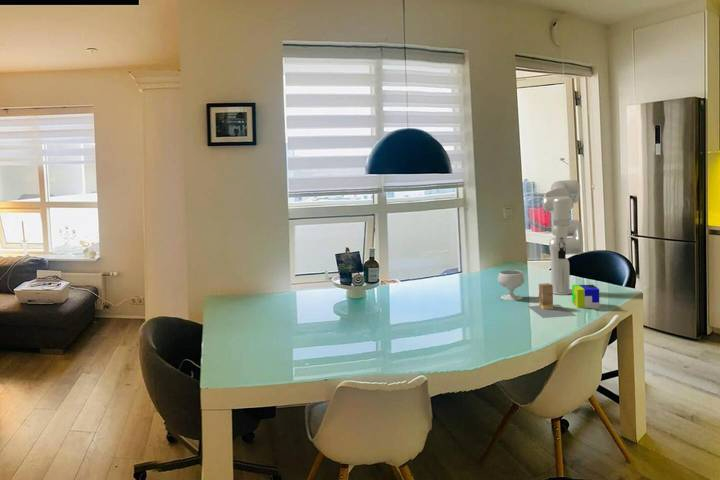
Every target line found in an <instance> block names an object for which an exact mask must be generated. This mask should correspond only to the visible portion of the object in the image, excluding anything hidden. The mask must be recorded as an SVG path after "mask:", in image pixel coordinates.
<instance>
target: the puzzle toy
mask: <svg viewBox="0 0 720 480" xmlns="http://www.w3.org/2000/svg"><path fill="white" fill-rule="evenodd" d="M571 290H572V293H571V295H572V296H571V297H572V298H571V302H572V303H573V305H574V306H575V307H576V308H577V309H592V310H594V309H595V310H599V309H600V289H599V288H598V287H597V286H595V285H594V284H572V285H571Z"/></svg>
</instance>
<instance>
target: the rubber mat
mask: <svg viewBox="0 0 720 480" xmlns="http://www.w3.org/2000/svg"><path fill="white" fill-rule="evenodd" d="M527 308H529V309H530V310H532V312H534V313H536V314H537V315H539V316H540V317H541V318H542V319H545V318H547V319H549V318H561V317H562V318H564V317H565V318H566V317H576V316H577V315H576V314H575V313H574V312H571V311H570V310H568V309H567V308H565V307H563V306H562V305H561V304H553V309H542V308H541V307H539V305H528V306H527Z"/></svg>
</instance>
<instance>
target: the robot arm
mask: <svg viewBox="0 0 720 480" xmlns="http://www.w3.org/2000/svg"><path fill="white" fill-rule="evenodd" d="M580 194H581V185H580V183H579V181H578V180H577V179H570V180H556V181H554V182H553V183H552V184H551V187H550V190H549V191H547V192H546V193H544V194H543V197H542V209H543V210H544V212H547V213H548V212H549V213H550V228H551V233H552V236H554V237H555V238H554V237H553V238H552V239H550V240H549V241H548V248H549V253H550V254H549V255H550V275H551V277H550V280H551V281H550V282H551V283H550V284H551V285H553V295H559V296H560V295H561V296H562V295H563V296H564V295H567V296H568V295H572V288H570V283H571V282H570V261H569V259H568V258H567V257H566V256H567V255H581V254H582V253H583V252H584V234H583V225H582V222H581V221H580V220H578V219H571V210H572V209H573V208H574V204H577V203H578V202H579V200H580Z"/></svg>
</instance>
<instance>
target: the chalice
mask: <svg viewBox="0 0 720 480" xmlns="http://www.w3.org/2000/svg"><path fill="white" fill-rule="evenodd" d="M497 281H498V284H499V285H500V286H501V287H503V288H506V289H507V290H508V291H509V294H505V295H501V296H500V298H499V299H501V300H506V301H519V300H523V296H521V295H517V294H514V291H515V289H517V288H519V287H521V286H522V285H524V283H525V275H524V274H523V272H522V271H520V270H515V269H512V270H511V269H509V270H508V269H507V270H502V271H500V272H499V274H498V277H497Z"/></svg>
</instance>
